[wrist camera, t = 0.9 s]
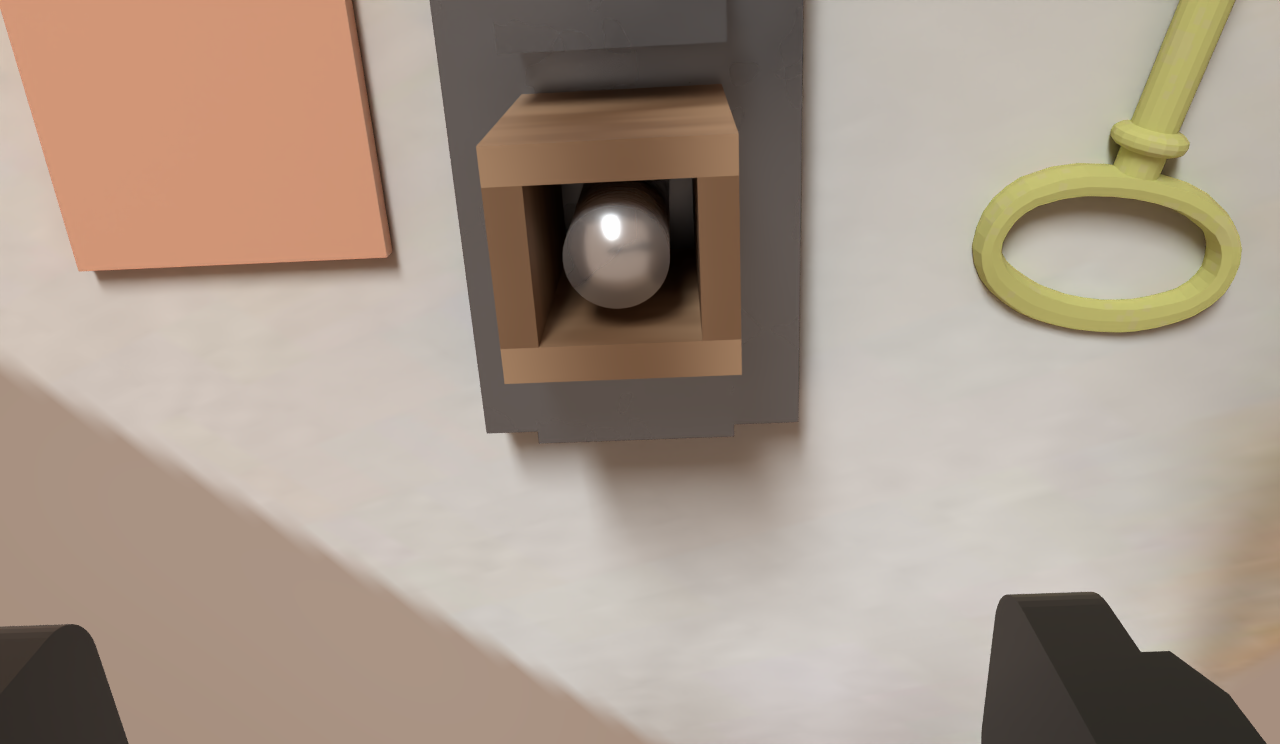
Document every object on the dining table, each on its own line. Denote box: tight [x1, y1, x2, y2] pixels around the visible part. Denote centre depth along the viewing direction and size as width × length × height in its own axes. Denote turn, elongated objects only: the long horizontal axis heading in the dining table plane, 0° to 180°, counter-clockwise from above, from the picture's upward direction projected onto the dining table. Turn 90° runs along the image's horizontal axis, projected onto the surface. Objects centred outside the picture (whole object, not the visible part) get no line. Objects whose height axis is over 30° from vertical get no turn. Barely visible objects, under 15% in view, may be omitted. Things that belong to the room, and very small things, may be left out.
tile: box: [0, 0, 392, 271], centre depth 27 cm, size 9×9×1 cm
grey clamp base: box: [430, 0, 803, 443], centre depth 24 cm, size 9×14×8 cm, turn 3°
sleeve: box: [476, 84, 742, 384], centre depth 23 cm, size 5×5×6 cm
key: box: [972, 0, 1242, 332], centre depth 26 cm, size 7×12×2 cm, turn 9°
